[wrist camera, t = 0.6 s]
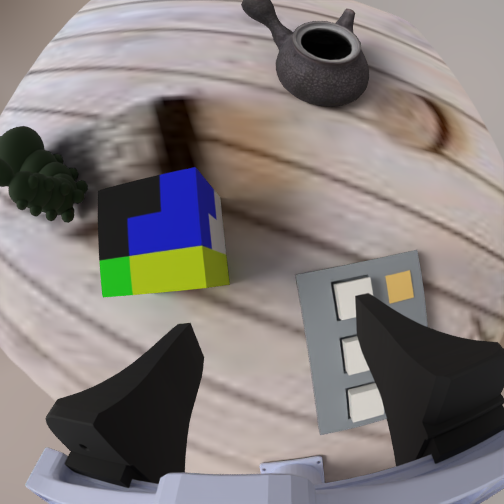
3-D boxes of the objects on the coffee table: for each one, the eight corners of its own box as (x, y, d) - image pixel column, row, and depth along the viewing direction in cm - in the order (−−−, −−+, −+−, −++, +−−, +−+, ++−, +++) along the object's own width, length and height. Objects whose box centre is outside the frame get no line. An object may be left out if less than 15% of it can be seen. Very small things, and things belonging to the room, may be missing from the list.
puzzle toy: (220, 197, 33) (195, 167, 23) (229, 284, 32) (206, 287, 22) (143, 211, 34) (98, 190, 24) (149, 292, 33) (102, 297, 23)
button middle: (376, 362, 28) (381, 366, 26) (345, 370, 28) (349, 375, 27) (373, 332, 28) (378, 334, 27) (342, 339, 29) (345, 343, 27)
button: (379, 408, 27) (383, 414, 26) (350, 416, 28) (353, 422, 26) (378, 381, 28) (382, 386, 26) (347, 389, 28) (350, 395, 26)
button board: (423, 398, 28) (430, 404, 26) (318, 427, 30) (320, 435, 27) (409, 251, 30) (417, 249, 28) (295, 274, 32) (296, 274, 29)
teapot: (382, 60, 33) (399, 15, 23) (345, 127, 32) (362, 80, 23) (273, 17, 35) (269, -28, 25) (220, 73, 35) (203, 25, 25)
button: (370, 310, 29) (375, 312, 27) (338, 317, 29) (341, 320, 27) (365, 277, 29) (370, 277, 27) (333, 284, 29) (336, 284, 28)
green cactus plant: (119, 188, 37) (36, 129, 38) (30, 140, 18) (-31, 88, 19) (87, 245, 37) (11, 173, 38) (-13, 234, 18) (-61, 146, 19)
